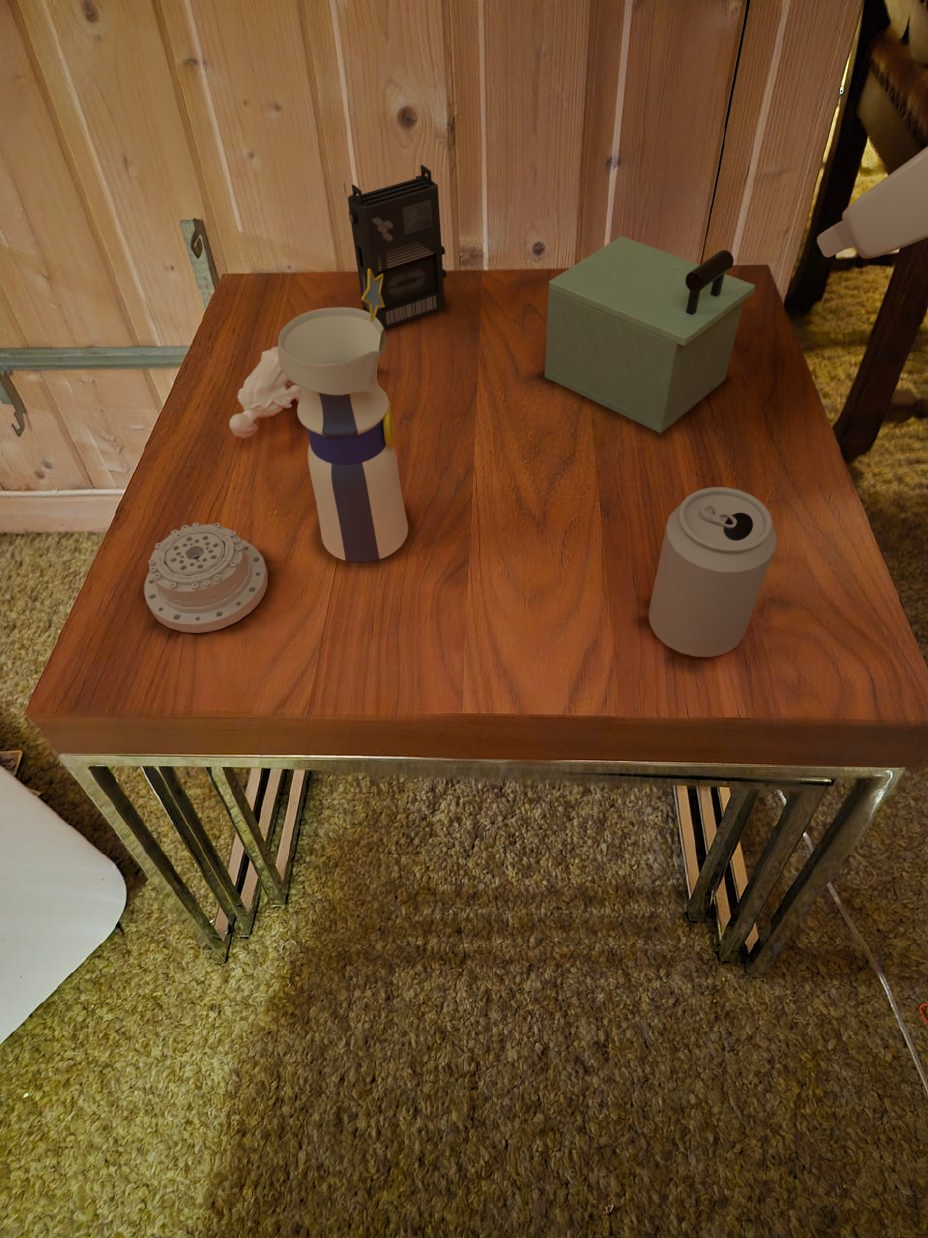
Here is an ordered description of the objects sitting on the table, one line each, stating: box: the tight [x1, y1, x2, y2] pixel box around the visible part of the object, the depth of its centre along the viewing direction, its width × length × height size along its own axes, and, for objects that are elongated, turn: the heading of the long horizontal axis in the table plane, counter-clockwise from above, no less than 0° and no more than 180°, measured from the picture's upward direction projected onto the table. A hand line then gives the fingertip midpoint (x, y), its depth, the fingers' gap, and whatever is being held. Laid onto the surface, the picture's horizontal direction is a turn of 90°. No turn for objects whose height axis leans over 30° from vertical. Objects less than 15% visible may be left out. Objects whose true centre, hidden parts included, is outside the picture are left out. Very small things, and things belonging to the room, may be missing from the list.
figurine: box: [228, 345, 302, 439], centre depth 84 cm, size 7×8×18 cm
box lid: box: [548, 235, 756, 346], centre depth 78 cm, size 15×12×5 cm
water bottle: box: [277, 269, 409, 564], centre depth 65 cm, size 8×9×25 cm
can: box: [648, 486, 778, 658], centre depth 61 cm, size 8×8×12 cm
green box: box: [544, 288, 745, 434], centre depth 83 cm, size 15×12×10 cm
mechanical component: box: [143, 522, 269, 634], centre depth 69 cm, size 10×4×10 cm
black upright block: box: [347, 164, 447, 331], centre depth 91 cm, size 10×5×15 cm, turn 120°
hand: (856, 221), depth 64 cm, fingers open, 8 cm apart
